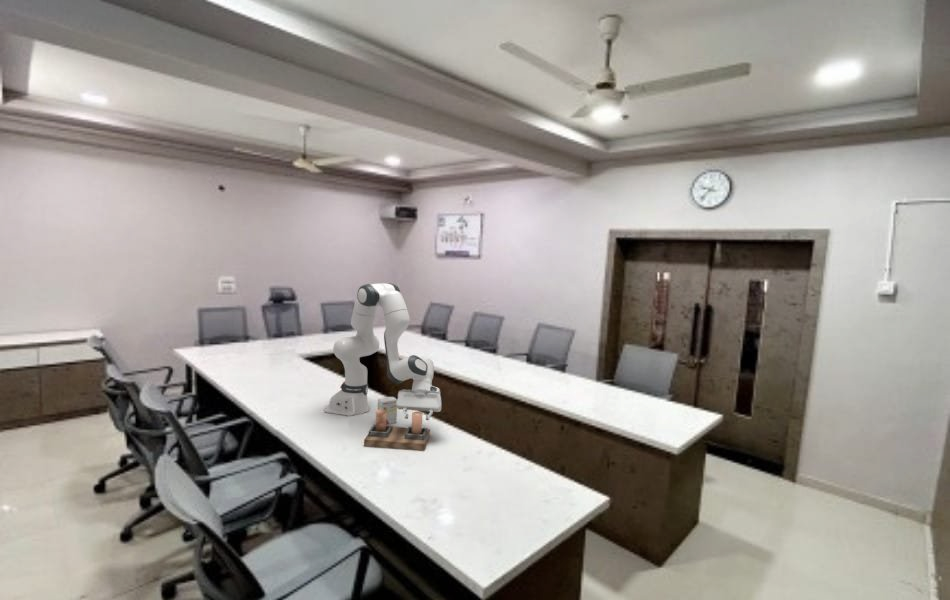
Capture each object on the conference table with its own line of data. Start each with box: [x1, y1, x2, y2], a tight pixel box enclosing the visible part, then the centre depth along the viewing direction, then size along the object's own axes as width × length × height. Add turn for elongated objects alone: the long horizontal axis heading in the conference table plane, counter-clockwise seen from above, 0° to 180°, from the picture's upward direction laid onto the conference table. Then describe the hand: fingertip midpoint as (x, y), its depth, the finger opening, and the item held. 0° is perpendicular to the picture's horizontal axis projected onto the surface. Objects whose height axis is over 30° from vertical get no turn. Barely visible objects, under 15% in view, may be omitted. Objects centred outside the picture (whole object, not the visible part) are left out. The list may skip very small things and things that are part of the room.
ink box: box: [376, 396, 398, 425], centre depth 220 cm, size 9×5×12 cm, turn 127°
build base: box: [363, 409, 431, 452], centre depth 200 cm, size 26×16×13 cm, turn 87°
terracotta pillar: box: [410, 411, 423, 435], centre depth 200 cm, size 5×5×10 cm
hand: (416, 418), depth 199 cm, fingers open, 8 cm apart
